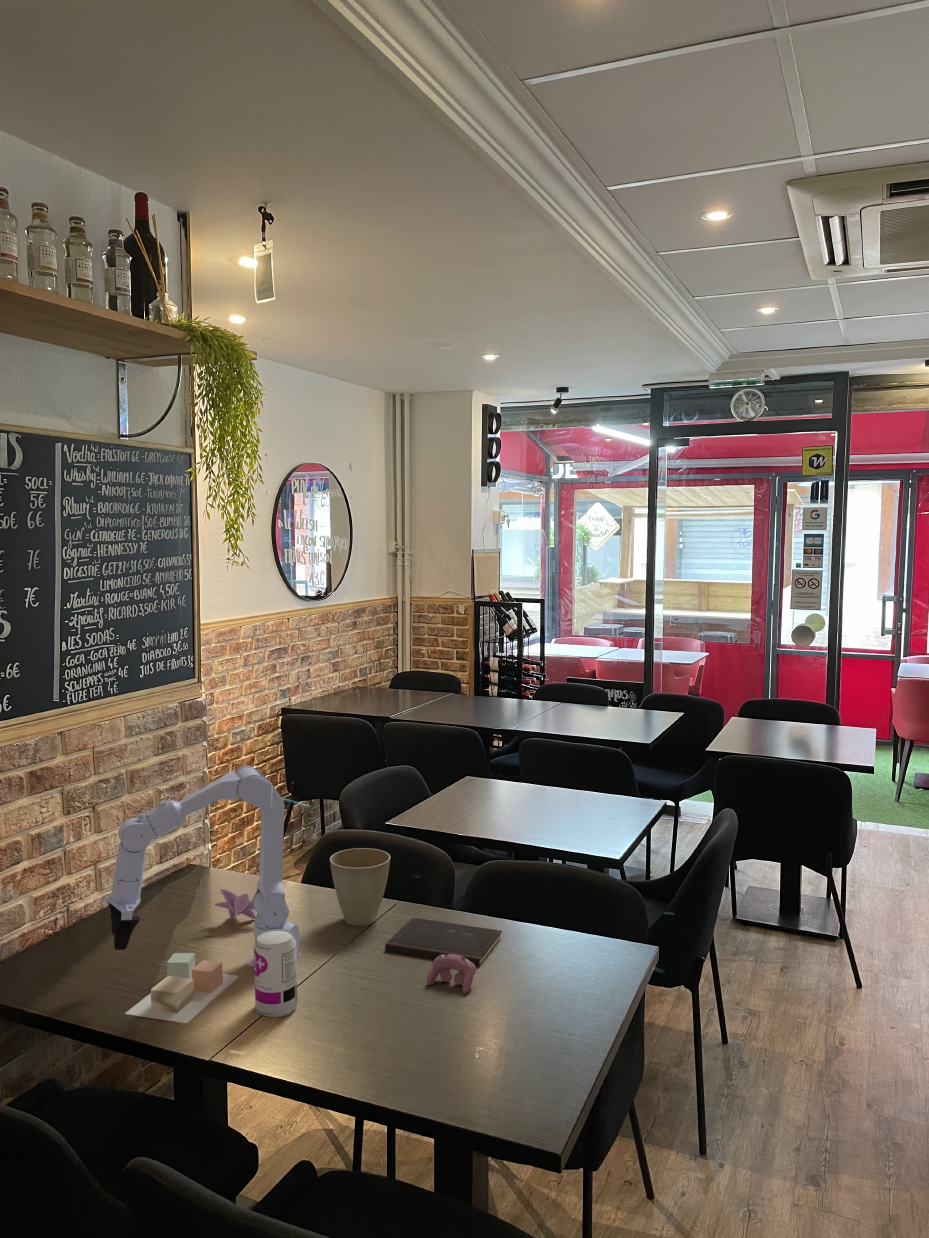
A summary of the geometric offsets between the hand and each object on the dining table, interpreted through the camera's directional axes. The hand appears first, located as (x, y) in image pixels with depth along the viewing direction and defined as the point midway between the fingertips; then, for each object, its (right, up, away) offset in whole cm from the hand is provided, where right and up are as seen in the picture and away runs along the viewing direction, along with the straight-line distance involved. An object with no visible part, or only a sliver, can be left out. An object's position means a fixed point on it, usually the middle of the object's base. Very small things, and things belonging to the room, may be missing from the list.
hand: (118, 941), depth 187 cm
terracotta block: (+18, -10, +1) cm, 21 cm away
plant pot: (+46, -8, +36) cm, 59 cm away
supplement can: (+34, -11, -7) cm, 37 cm away
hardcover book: (+67, -9, +22) cm, 72 cm away
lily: (+17, -8, +34) cm, 39 cm away
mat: (+14, -11, -2) cm, 18 cm away
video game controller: (+69, -10, +3) cm, 70 cm away
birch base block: (+13, -11, -6) cm, 18 cm away
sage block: (+11, -10, +5) cm, 16 cm away
